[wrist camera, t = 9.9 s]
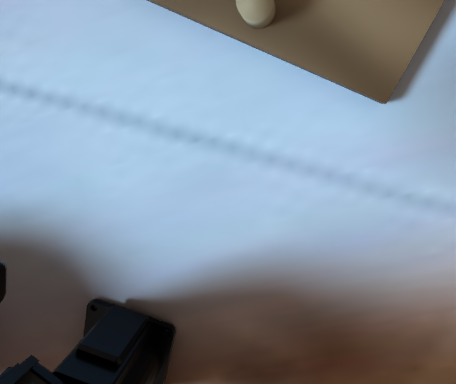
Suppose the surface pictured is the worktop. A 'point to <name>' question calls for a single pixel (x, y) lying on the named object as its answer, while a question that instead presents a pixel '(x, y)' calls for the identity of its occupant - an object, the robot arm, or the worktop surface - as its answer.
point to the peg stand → (325, 35)
